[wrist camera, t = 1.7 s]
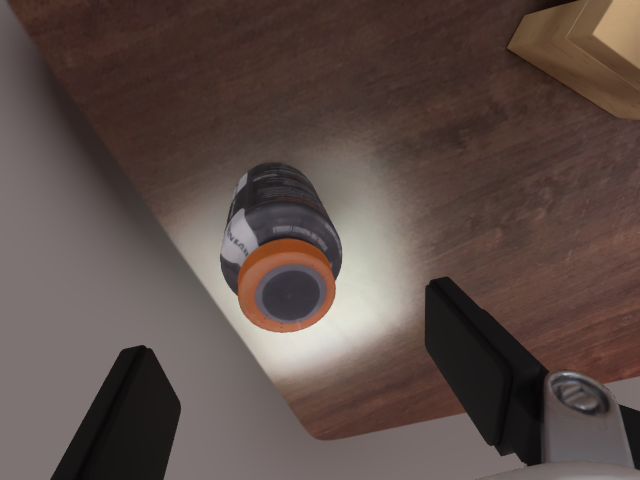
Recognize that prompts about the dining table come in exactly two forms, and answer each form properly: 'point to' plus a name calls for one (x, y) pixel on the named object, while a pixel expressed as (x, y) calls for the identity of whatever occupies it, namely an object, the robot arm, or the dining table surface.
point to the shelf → (588, 50)
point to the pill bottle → (280, 249)
